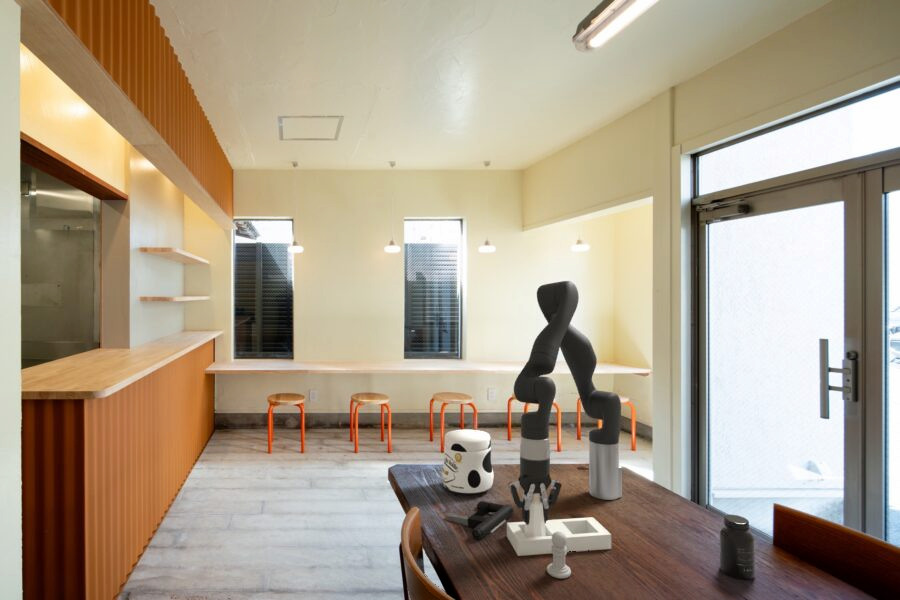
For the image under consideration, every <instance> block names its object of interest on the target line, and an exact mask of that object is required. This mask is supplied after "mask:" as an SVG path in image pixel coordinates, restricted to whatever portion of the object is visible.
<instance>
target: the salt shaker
mask: <svg viewBox="0 0 900 600" xmlns="http://www.w3.org/2000/svg"><path fill="white" fill-rule="evenodd" d="M529 510H530V519H529V524H528V525H526V523H525V535H526V537H540V536H546V531H545V522H544V515H543V503H542V502H541V500H540V494H539V493H535V494H533V496H532V500H531V502H530V505H529Z"/></svg>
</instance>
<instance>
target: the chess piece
mask: <svg viewBox="0 0 900 600" xmlns="http://www.w3.org/2000/svg"><path fill="white" fill-rule="evenodd" d="M566 542H567V539H566V536H565V535H564V534H563V533H562V532H555V533H554V534H553V535H552V543H553V545H552V553H551V554H552V562H551V563H550V564H548V565H547V567H546V572H547V573H548V575H550V577H552V578H555V579H563V580H564V579H567V578H569V577H571V575H572V571H571V567H569V566H568V565H567V564H566V556H567V553H568V552H566V550H567V548H566V546H565V545H566Z"/></svg>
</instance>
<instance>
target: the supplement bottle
mask: <svg viewBox="0 0 900 600" xmlns="http://www.w3.org/2000/svg"><path fill="white" fill-rule="evenodd" d="M723 520H724V521H723V526H722V527H721V528H720V529H719V533H718V534H719V536H718V537H719V540H718V541H719V546H718V547H719V567H720V569H721V571H722V572H723V573H724V574H726V575H728V576H729V577H731V578H734V579H736V580H743V581H749V580H753V578H755V576H756V553H755V551H756V549H755V547H756V545H755V544H756V543H755V537H754V536H753V534H752V533H751V532H750V524H749V523H750V522H749V520H748V519H747V518H745V517H744V516H741V515H737V514H726V515H724V517H723Z"/></svg>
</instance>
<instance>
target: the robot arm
mask: <svg viewBox="0 0 900 600" xmlns="http://www.w3.org/2000/svg"><path fill="white" fill-rule="evenodd" d="M579 298H580V297H579V291H578V287H577V285H576V284H575V282H573V281H570V280H561V281H557V282H551V283H546V284H545V283H544V284H542V285H540V286H538V288H537V290H536V299H537V304H538V307H539V309H540V311H541V313H542V315H543V317H544V318H545V320H546V322H547V324H546V326H545V327H544V328H543V329H542V330H541V331H540V333H539V334H537V336H536V337H535V339H534V342H533V345H532V348H531V351H530V355H529V358H528V360H527V362H526V364H525V365H524V366H523V368H522V369H521V371H520V373H519V374H518V375H517V377H516V378H515V381H514V384H513V395H514V397H515V399H516V400H517V401H518V402H520V403H525V404H533V405H538V409H537V410H536V411H528V412H527V411H526V412H525V413H523V414H522V415H521V418H520V441H519V477H518V479H517V480H516V481H514V482H512V481H509V483H508V484H507V485H508V488H509V490H510V493H511V496H512V499H513V502H514V504H515V505H516V507H517V508H518V509H521V510H522V511H521V514H522V515H521V519H522V520H523V521H522V522H525V523H526V525H528V524H529V519H530V510H529V505H530V502H531V500H532V496H533V494H535V493H539V494H540V500H541V502H542V503H543V515H544V522H545V523H546V521H548V520H549V508H550V507H555V506H556V504H557V500H558V498H559V494H560V492H561V488H562V486H563V485H562V483H561V482H560V481H558V479H552V477H551V475H550V474H551V446H550V437H549V435H550V433H549V432H550V429H549V428H550V418H551V417H550V416H551V413H552V407H553V404H554V401H555V398H556V393H557V389H556V388H557V386H556V384H555V381H554V380H553V379H552V378H551V377H549V376H547V375H550V374H552V373H553V371H554V370H555V367H556V364H557V359H558V357H559V356H558V355H559V352H560V351H561V353H562V357H563V358H564V360H565V363H566V366H567V367H568V369H569V371H570V374H571V375H572V376H571V377H572V379H573V381H574V384H575V386H576V389H577V393H578V396H579V399H580V403H581V405H582V409H583V411H584V413H585V415H587V416H588V417H589V418H591V419H594V420H601V421H602V422H603V423H602V427H600V428H599V427H598V428H595V429H592V430H589V432H588V443H589V444H588V448H589V449H588V459H589V460H588V463H589V464H588V467H589V468H588V475H589V476H588V477H589V478H588V479H589V481H588V482H589V485H588V490H589V492H588V493H589V495H590V496H591V497H593V498H595V499H596V498H597V499H599V500H605V501H607V500H608V501H611V500H612V501H613V500H617V499H619V498H622V497H623V476H622V475H623V474H622V473H623V472H622V471H623V470H622V469H623V468H622V466H621V465H620V439H619V438H620V434H621V420H622V419H621V417H622V402H621V397H620V396H619V395H618V394H617V393H616V392H612V391H611V392H610V391H604V390H598V389H597V388H596V387H595V385H594V383H593V375H594V372H595V370H596V367H597V361H598V360H597V355H596V353H595V350H594V348H593V345H592V343H591V340H590V339H589V338H588V337H587V336H586V335H585V334H583V333H582V332H581V331H580V330H578V329H577V328H576V327H575V326H574V325H572V324H571V322H572V319H573V317H574V315H575V312H576V310H577V308H578V304H579V300H580V299H579ZM520 487H521V489H522V490H523V491H522V499H520V495H519V493H518V492H519V490H520ZM549 487H550V491H549V494H547V490H548V489H549Z"/></svg>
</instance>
